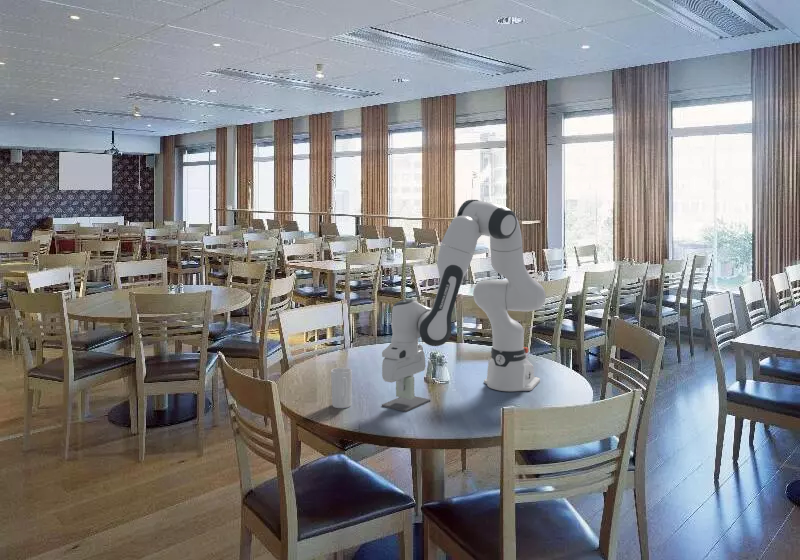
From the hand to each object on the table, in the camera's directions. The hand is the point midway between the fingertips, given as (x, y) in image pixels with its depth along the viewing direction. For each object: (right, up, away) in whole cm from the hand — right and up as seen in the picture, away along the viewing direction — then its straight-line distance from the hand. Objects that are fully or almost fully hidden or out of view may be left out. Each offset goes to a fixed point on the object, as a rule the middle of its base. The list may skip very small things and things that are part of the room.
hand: (404, 389), depth 229 cm
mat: (0, -5, +2) cm, 5 cm away
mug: (-20, -6, -1) cm, 21 cm away
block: (0, -3, 0) cm, 3 cm away
